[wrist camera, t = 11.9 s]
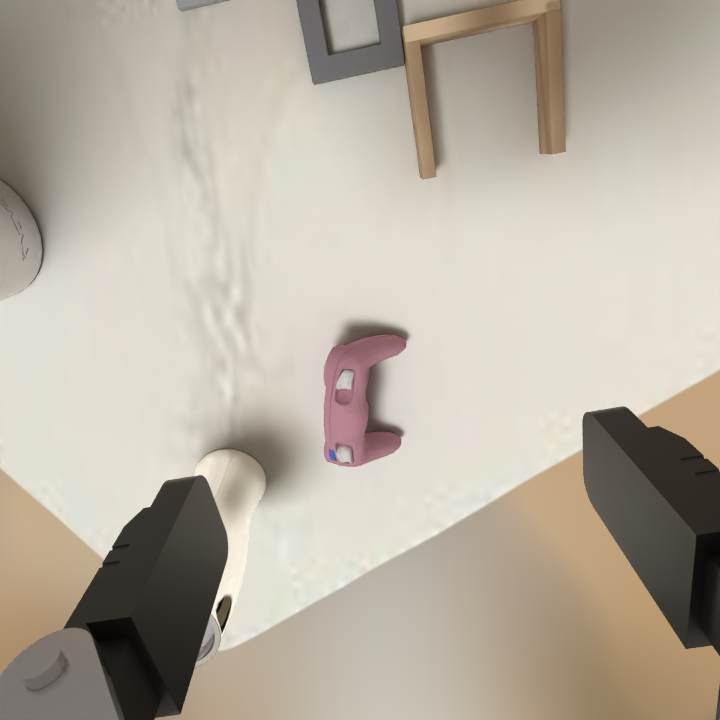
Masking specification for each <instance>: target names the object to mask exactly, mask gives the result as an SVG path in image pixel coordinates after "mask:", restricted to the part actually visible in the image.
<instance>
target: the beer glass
mask: <svg viewBox="0 0 720 720" xmlns="http://www.w3.org/2000/svg"><path fill="white" fill-rule="evenodd" d="M198 475H202V476H204V477H205V478H206V479H207V481H208V483H209V486H210V488H211V491H212V494H213V497H214V499H215V502H216V505H217V507H218V510H219V513H220V516H221V518H222V521H223V524H224V526H225V529H226V533H227V538H228V558H227V562H226V566H225V569H224V572H223V576H222V579H221V582H220V585H219V589H218V592H217V595H216V599H215V602H214V605H213V608H212V612H211V615H210V618H209V622H208V625H207V628H206V632H205V635H204V638H203V641H202V645H201V648H200V651H199V655H198V658H197V661H196V664H195V668H196V667H199V666H201V665H203V664H204V663H206V662H207V661H208V660H210V659H211V658H212V657H213V656H214V655H215V654H216V652H217V650H218V648H219V646H220V642H221V639H222V636H223V634H224V632H225V629H226V627H227V625H228V622H229V620H230V617H231V615H232V612H233V610H234V607H235V604H236V601H237V598H238V595H239V592H240V589H241V585H242V581H243V578H244V574H245V568H246V561H247V553H248V542H249V528H250V520H251V516H252V513H253V511H254V509H255V507H256V506H257V504H258V503H259V501H260V500H261V498H262V496H263V494H264V492H265V489H266V476H265V473H264V471H263V469H262V467H261V466H260V464H259V463H258V462H257V461H256V460H255V459H254V458H252V457H251V456H249V455H248V454H246V453H243V452H241V451H237V450H232V449H222V450H217V451H214V452H211V453H209V454H208V455H206V456H205V457H204V458H203V459H202V460H201V461H200V462H199V463H198V465H197V467H196V470H195V473H194V476H198Z"/></svg>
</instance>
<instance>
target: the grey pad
mask: <svg viewBox="0 0 720 720" xmlns="http://www.w3.org/2000/svg"><path fill="white" fill-rule="evenodd" d="M224 1H228V0H176V2H177V6H178V9H179V10H181V11H186V10H190V9H194V8H199V7H203V6H207V5H211V4H215V3H220V2H224Z"/></svg>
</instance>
